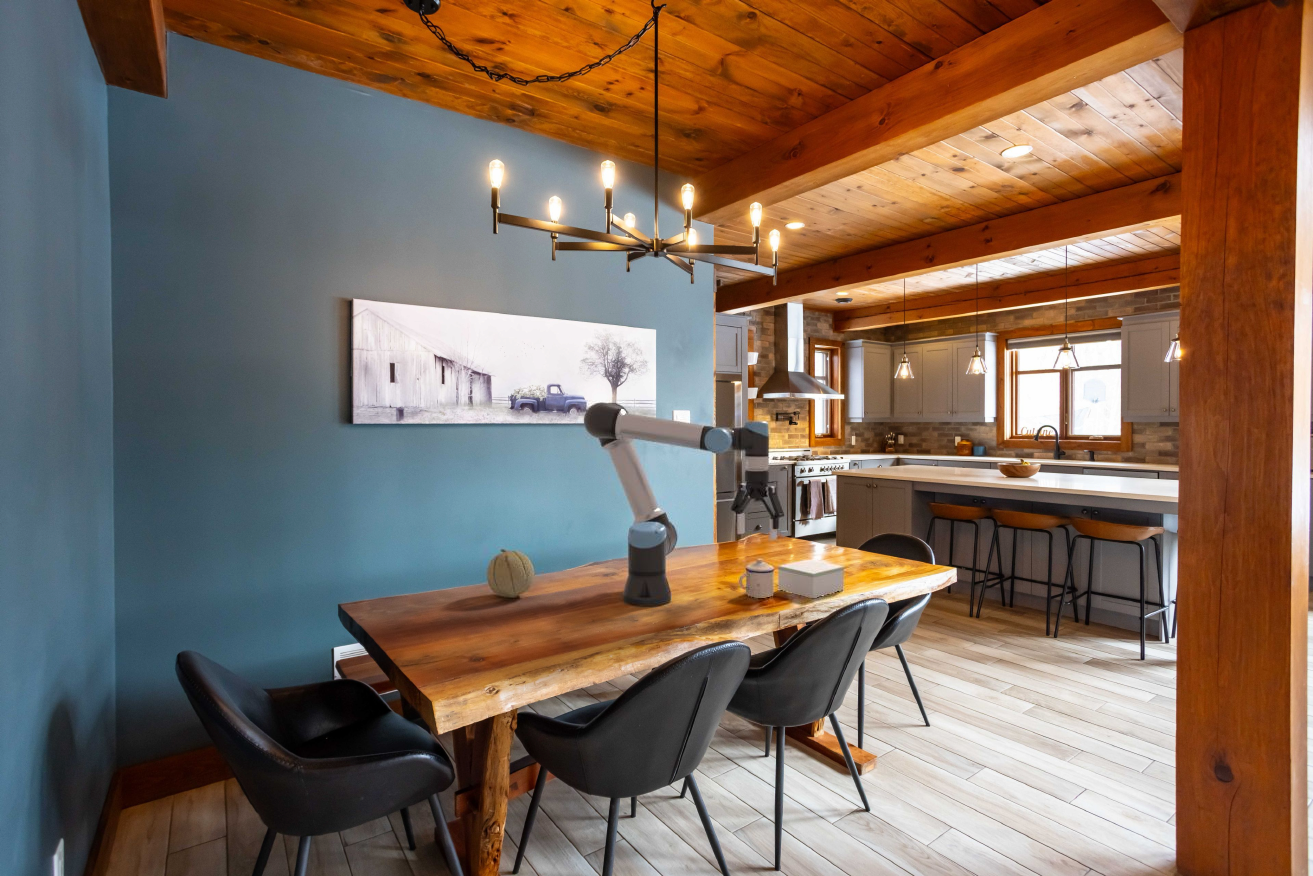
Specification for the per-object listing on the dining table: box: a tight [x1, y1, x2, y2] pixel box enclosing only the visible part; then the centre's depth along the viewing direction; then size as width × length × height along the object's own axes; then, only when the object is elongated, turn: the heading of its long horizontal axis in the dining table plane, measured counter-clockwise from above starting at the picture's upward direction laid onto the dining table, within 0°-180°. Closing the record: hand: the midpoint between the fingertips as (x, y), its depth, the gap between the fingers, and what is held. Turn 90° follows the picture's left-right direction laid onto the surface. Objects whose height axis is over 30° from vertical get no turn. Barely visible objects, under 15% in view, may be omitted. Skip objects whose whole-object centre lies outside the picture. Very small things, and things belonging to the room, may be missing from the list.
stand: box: [777, 558, 845, 599], centre depth 218 cm, size 14×16×8 cm
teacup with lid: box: [738, 558, 775, 599], centre depth 211 cm, size 12×9×12 cm
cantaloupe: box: [486, 548, 535, 599], centre depth 209 cm, size 15×15×15 cm
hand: (756, 536), depth 210 cm, fingers open, 13 cm apart
